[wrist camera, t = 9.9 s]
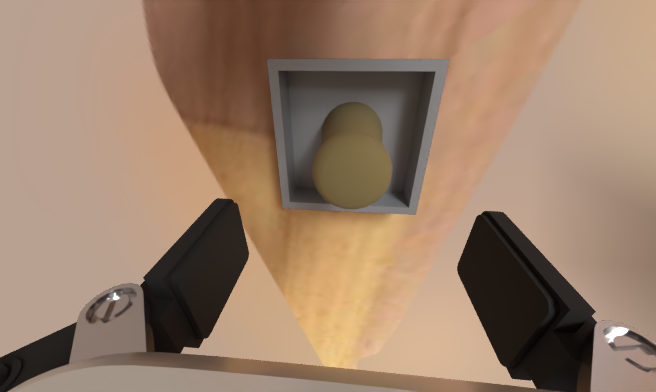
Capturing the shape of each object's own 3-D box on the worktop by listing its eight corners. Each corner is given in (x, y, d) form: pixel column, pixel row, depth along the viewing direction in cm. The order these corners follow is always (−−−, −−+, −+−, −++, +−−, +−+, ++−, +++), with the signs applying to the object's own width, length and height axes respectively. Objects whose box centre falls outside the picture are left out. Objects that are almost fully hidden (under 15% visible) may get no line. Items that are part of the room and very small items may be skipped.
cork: (326, 165, 26) (312, 227, 16) (316, 107, 23) (291, 140, 13) (384, 158, 25) (404, 220, 15) (381, 97, 22) (403, 125, 13)
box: (280, 59, 22) (266, 58, 19) (433, 59, 21) (449, 59, 18) (291, 190, 29) (282, 208, 25) (407, 195, 28) (415, 214, 24)
